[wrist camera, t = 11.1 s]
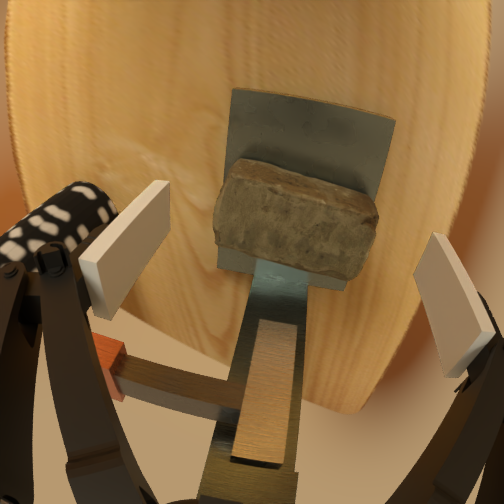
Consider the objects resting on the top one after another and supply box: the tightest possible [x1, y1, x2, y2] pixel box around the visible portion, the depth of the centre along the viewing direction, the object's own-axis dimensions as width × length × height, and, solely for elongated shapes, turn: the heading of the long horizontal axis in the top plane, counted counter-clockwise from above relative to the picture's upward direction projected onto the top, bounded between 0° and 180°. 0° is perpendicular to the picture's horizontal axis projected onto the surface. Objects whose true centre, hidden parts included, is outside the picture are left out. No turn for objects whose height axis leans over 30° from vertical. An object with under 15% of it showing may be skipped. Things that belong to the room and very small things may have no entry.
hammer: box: [92, 319, 297, 470], centre depth 17 cm, size 4×13×9 cm, turn 83°
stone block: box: [213, 158, 379, 281], centre depth 23 cm, size 6×12×5 cm, turn 78°
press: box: [196, 88, 396, 504], centre depth 17 cm, size 20×12×24 cm, turn 173°
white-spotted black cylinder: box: [0, 181, 118, 332], centre depth 22 cm, size 8×8×20 cm
